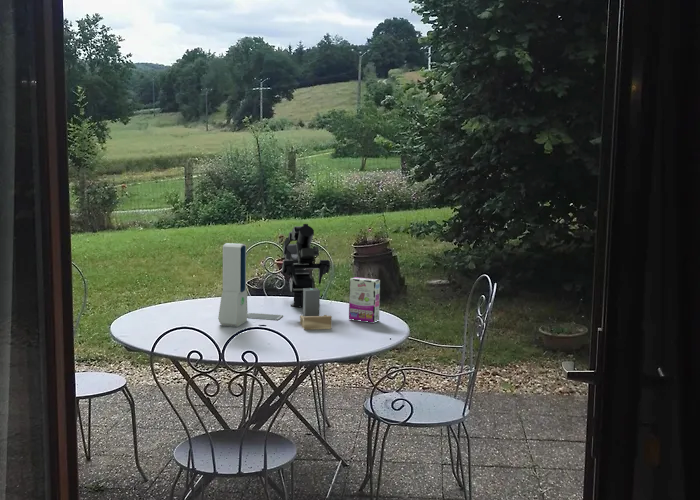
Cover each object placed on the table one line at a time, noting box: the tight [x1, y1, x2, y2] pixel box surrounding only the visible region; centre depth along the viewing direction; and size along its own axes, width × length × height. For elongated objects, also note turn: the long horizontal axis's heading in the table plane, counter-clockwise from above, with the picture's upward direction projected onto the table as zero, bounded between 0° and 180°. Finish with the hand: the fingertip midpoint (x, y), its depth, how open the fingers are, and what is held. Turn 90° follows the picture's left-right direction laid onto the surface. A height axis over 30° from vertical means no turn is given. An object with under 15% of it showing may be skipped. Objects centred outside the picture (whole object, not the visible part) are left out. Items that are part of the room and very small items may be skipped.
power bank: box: [302, 287, 321, 316], centre depth 287 cm, size 5×6×12 cm
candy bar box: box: [348, 276, 381, 323], centre depth 288 cm, size 11×5×16 cm, turn 62°
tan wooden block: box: [299, 314, 333, 331], centre depth 278 cm, size 10×10×5 cm
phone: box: [247, 312, 284, 321], centre depth 291 cm, size 7×14×1 cm, turn 79°
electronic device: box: [217, 242, 249, 328], centre depth 278 cm, size 12×8×30 cm, turn 168°
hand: (308, 284), depth 293 cm, fingers open, 9 cm apart
